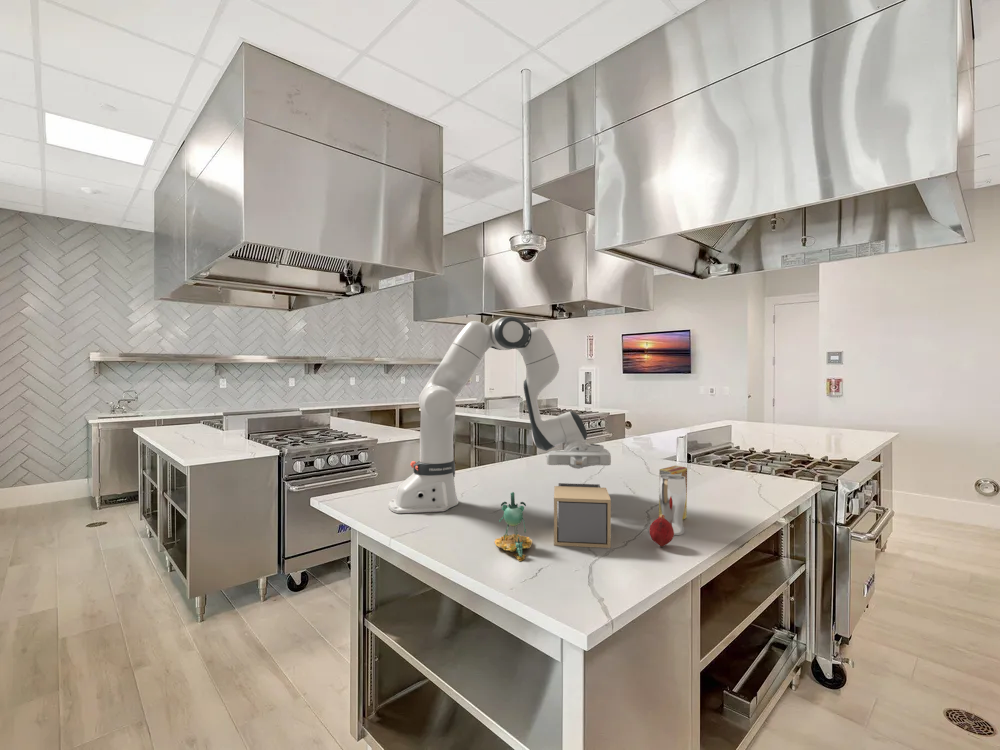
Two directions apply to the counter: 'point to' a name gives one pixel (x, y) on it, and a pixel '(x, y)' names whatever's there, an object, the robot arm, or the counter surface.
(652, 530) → the onion
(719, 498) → the counter surface
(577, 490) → the sleeve
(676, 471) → the candy box
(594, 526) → the grey open box
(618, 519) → the counter surface
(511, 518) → the frog figurine
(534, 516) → the counter surface
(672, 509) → the beer glass
